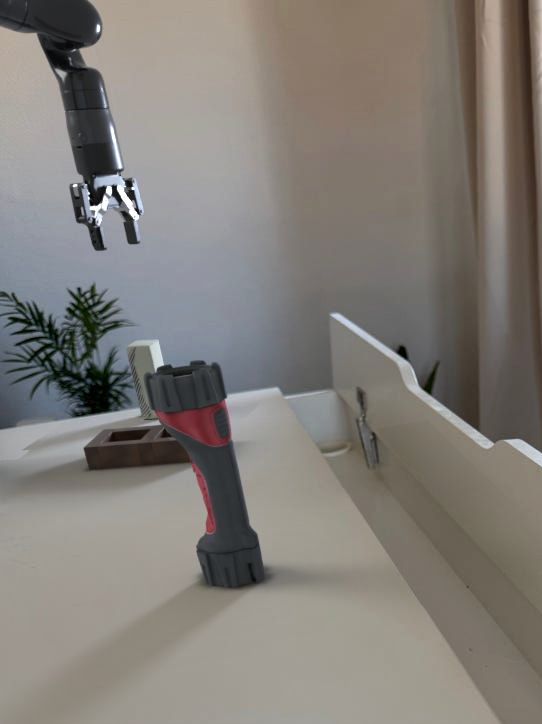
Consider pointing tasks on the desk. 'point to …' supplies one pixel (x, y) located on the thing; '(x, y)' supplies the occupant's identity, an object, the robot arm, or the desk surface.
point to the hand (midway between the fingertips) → (118, 247)
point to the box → (144, 370)
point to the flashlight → (209, 467)
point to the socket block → (134, 448)
